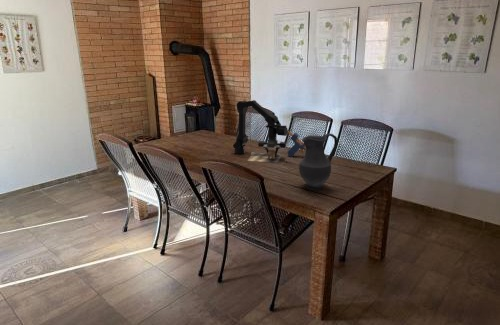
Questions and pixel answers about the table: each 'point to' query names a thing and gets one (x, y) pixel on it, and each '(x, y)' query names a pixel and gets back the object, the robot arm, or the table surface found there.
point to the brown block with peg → (271, 154)
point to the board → (263, 157)
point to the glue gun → (296, 145)
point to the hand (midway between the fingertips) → (272, 156)
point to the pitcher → (316, 161)
